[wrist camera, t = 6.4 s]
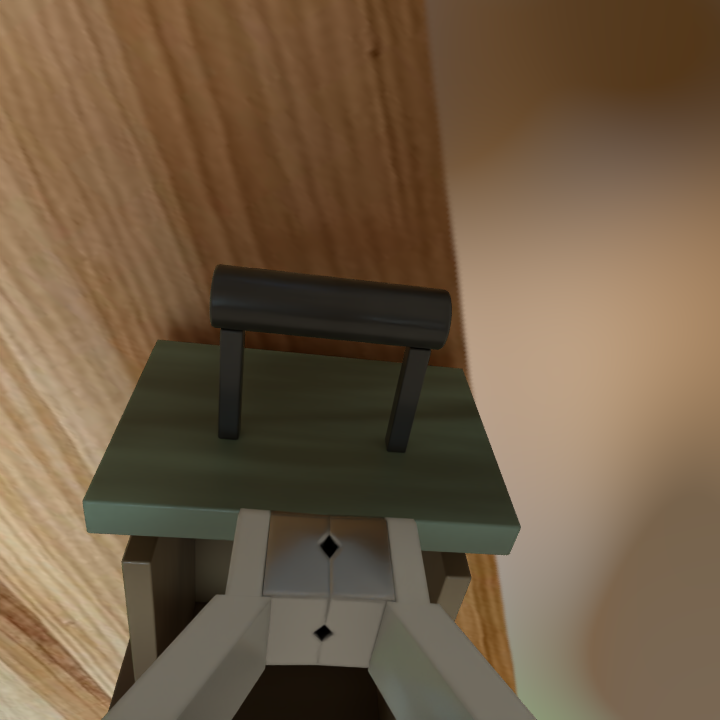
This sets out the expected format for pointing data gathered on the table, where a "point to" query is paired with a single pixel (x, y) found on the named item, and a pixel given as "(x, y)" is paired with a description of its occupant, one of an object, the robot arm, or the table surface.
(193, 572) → the drawer
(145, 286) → the table surface
